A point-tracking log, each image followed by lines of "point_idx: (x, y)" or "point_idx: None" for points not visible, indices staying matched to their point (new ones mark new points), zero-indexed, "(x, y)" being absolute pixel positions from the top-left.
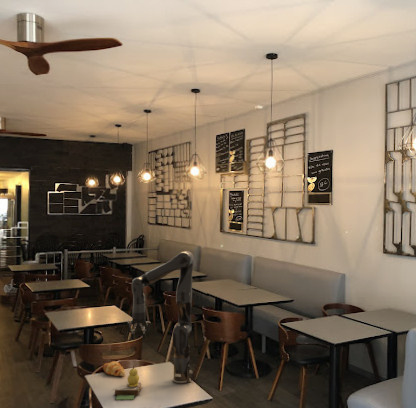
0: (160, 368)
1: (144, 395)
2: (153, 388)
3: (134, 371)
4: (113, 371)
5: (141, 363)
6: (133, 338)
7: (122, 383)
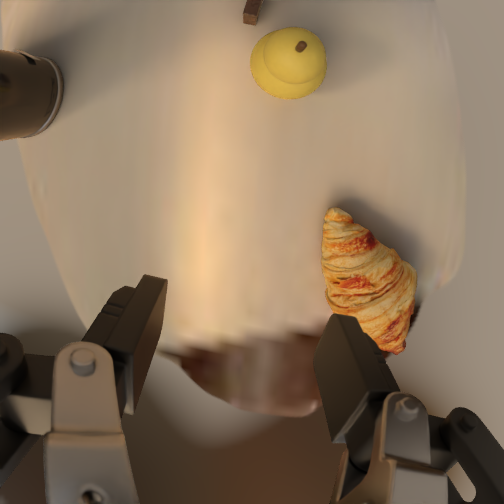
0: None
1: None
2: (175, 5)
3: (290, 29)
4: (384, 248)
5: (216, 370)
6: (345, 324)
7: (341, 115)
